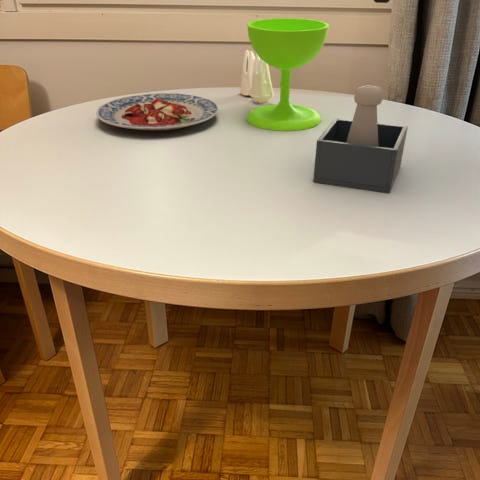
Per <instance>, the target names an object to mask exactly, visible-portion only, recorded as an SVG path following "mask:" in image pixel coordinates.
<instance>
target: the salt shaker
mask: <svg viewBox="0 0 480 480" xmlns="http://www.w3.org/2000/svg"><path fill="white" fill-rule="evenodd" d="M353 100H354V102H355V104H356V107H355V110H354V113H353V117H352V120H353V121H352V124H351V128H350V131H349V135H348V138H347V141H346V143H352V144H360V145H369V146H377V147H378V124H377V123H378V106H379V105H381V103H382V102H383V100H384V90H383V89H382V88H381V87H379V86H375V85H371V84H370V85H361V86H359V87H358V88H356V89H355V91H354V98H353Z"/></svg>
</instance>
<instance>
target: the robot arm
mask: <svg viewBox="0 0 480 480" xmlns="http://www.w3.org/2000/svg"><path fill="white" fill-rule="evenodd" d="M390 1H391V0H373V2H374V3H376V4H377V3H378V4H388V3H389V2H390Z"/></svg>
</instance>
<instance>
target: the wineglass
mask: <svg viewBox="0 0 480 480" xmlns="http://www.w3.org/2000/svg"><path fill="white" fill-rule="evenodd" d="M246 25H247V35H248V39H249V41H250V44H251V47H252V49H253V50H254V52H255V54H256V53H257V55H258V56H259V57H260V58H261V59H262V60H263V61H264V62H265V63H267V64H268V66H269V67H273V68H275V69H278V70H280V94H279V95H280V96H279V102H278V103H277V104H268V105H263V106H259V107H256V108H254V109H252V110H251V111H250V112H249V113H248V115H247V117H246V121H247V123H249V124H250V125H251V126H253V127H256V128H259V129H263V130H268V131H269V130H270V131H283V132H291V131H293V132H294V131H302V130H303V131H304V130H308V129H311V128H314V127H316V126H318V125H320V123H321V121H322V120H321V119H322V118H321V116H320V114H319V113H318V112H317V111H315V110H314V109H312V108H309V107H307V106H304V105H303V106H302V105H299V104H298V105H297V104H291V102H290V90H291V74H292V73H291V72H292V70H295V69H298V68H301V67H303V66H306V65H308V63H310V62H312V60H314V59H315V58H316V57H317V55H318V54H319V53H320V52H321V50H322V49H323V47H324V45H325V42H326V41H327V38H328V33H329V27H330V24H329V23H328V22H325V21H323V20H316V19H307V18H295V17H293V18H292V17H291V18H290V17H288V18H287V17H285V18H280V17H279V18H263V19H257V20H252V21H250V22H248V23H247V24H246Z"/></svg>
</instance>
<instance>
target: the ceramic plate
mask: <svg viewBox="0 0 480 480" xmlns="http://www.w3.org/2000/svg"><path fill="white" fill-rule="evenodd" d="M218 113H219V106H218V104H217V103H216V102H214V101H212V100H210V99H209V98H205V97H202V96H197V95H192V94H183V93H170V92H169V93H166V92H165V93H161V92H159V93H145V94H137V95H130V96H125V97H120V98H117V99H112V100H111V101H108V102H106V103H104V104H102V105H100V106H99V107H98V108H97V110H96V112H95V114H96V117H97V119H98V120H100V121H101V122H103V123H105V124H107V125H110V126H113V127H116V128H117V127H118V128H123V129H130V130H135V131H142V132H143V131H144V132H167V131H168V132H169V131H174V130H179V129H183V128H186V127H190V126H194V125H198V124H201V123H204V122H207V121H208V120H211V119H212V118H214V117H215V116H217V114H218Z"/></svg>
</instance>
